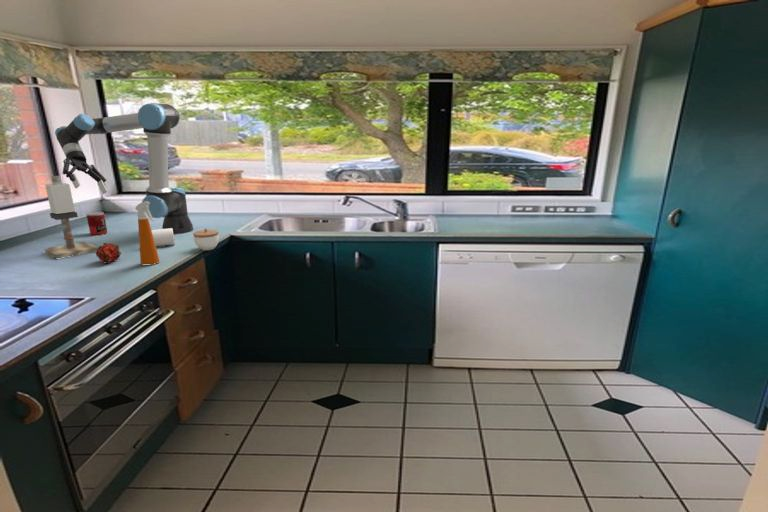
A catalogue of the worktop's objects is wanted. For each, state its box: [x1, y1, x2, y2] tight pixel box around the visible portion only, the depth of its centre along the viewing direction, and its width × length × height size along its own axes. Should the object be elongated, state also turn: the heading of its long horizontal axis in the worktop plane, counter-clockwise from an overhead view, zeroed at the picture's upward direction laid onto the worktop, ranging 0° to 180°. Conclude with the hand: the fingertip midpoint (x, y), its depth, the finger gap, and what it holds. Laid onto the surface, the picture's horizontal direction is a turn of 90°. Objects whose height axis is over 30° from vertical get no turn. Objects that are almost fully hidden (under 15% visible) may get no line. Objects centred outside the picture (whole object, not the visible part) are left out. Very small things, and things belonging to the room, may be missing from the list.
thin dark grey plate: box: [49, 211, 79, 221], centre depth 197 cm, size 8×8×2 cm
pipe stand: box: [44, 175, 98, 259], centre depth 197 cm, size 16×16×34 cm
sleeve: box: [45, 182, 76, 214], centre depth 195 cm, size 7×7×12 cm
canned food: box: [86, 211, 108, 236], centre depth 233 cm, size 8×8×11 cm
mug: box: [151, 228, 176, 247], centre depth 213 cm, size 12×10×8 cm
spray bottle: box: [135, 201, 160, 265], centre depth 181 cm, size 7×11×26 cm, turn 58°
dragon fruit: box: [95, 242, 122, 263], centre depth 187 cm, size 8×8×12 cm
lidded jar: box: [193, 228, 220, 251], centre depth 206 cm, size 11×11×9 cm
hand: (91, 189), depth 210 cm, fingers open, 13 cm apart
